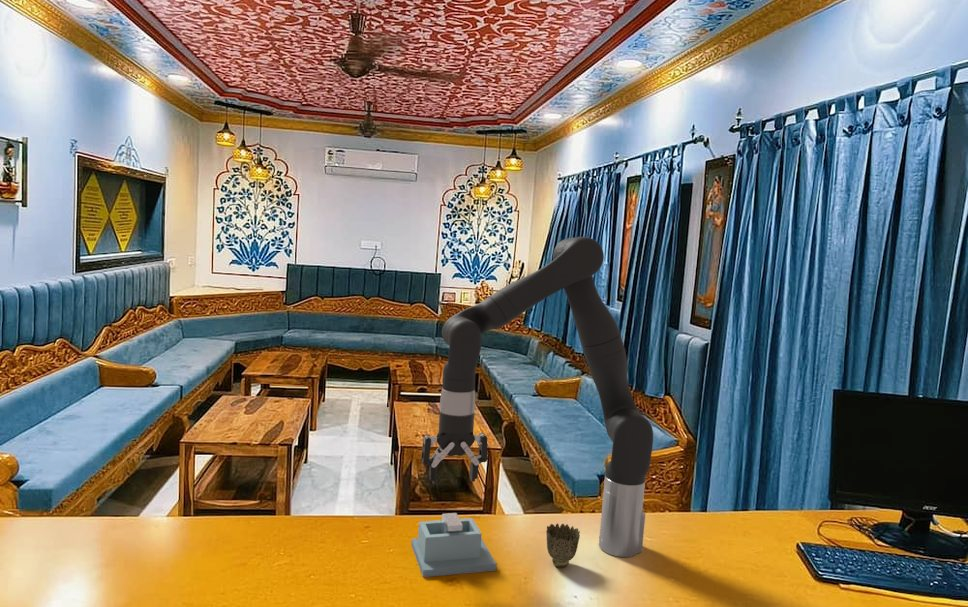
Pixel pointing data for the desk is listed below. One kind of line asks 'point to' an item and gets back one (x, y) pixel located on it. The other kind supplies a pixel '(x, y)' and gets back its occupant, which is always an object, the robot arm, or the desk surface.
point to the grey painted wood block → (450, 523)
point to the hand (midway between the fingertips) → (453, 481)
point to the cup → (562, 543)
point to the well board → (451, 550)
